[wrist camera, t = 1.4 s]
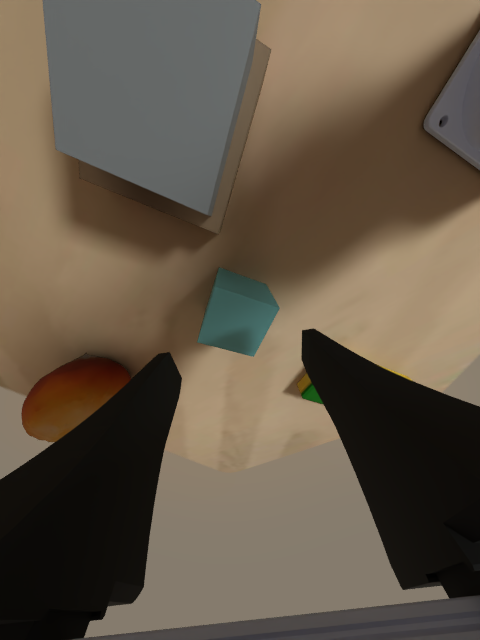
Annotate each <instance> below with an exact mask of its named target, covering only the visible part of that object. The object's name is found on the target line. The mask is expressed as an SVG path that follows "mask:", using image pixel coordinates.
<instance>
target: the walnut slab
mask: <svg viewBox="0 0 480 640" xmlns="http://www.w3.org/2000/svg"><path fill="white" fill-rule="evenodd" d="M270 53H271V49H270V48H269V47H267V46H266V45H264V44H263V43H261V42H260V41H259V40H257V39H256V41H255V48H254V54H253V61H252V65H251V69H250V73H249V77H248V80H247V84H246V88H245V92H244V96H243V99H242V103H241V107H240V111H239V114H238V118H237V122H236V126H235V130H234V133H233V137H232V141H231V145H230V148H229V152H228V156H227V160H226V163H225V167H224V171H223V175H222V179H221V182H220V186H219V190H218V194H217V197H216V201H215V205H214V209H213V213H212V216H209V215H206V214H204V213H201V212H199V211H197V210H194V209H192V208H190V207H187V206H185V205H183V204H180V203H178V202H176V201H173V200H171V199H169V198H167V197H164V196H162V195H160V194H157V193H155V192H153V191H150V190H148V189H146V188H143V187H141V186H139V185H137V184H134V183H132V182H130V181H127V180H125V179H123V178H120V177H118V176H116V175H113V174H111V173H109V172H107V171H104V170H102V169H100V168H97V167H95V166H93V165H90V164H88V163H86V162H83V161H81V160H79V175H80V179H83V180H85V181H88V182H90V183H93V184H95V185H98V186H100V187H103V188H105V189H108V190H110V191H113V192H115V193H117V194H120V195H122V196H125V197H127V198H130V199H132V200H135V201H137V202H140V203H142V204H145V205H147V206H150V207H152V208H154V209H157V210H159V211H162V212H164V213H167V214H169V215H172V216H174V217H177V218H179V219H182V220H184V221H187V222H189V223H192V224H194V225H196V226H199V227H201V228H204V229H206V230H209V231H211V232H214V233H216V234H219V233H220V230H221V227H222V224H223V220H224V217H225V213H226V210H227V206H228V203H229V199H230V196H231V192H232V189H233V185H234V182H235V178H236V175H237V172H238V168H239V165H240V161H241V158H242V154H243V151H244V147H245V144H246V140H247V137H248V133H249V130H250V126H251V123H252V120H253V116H254V113H255V109H256V106H257V102H258V99H259V95H260V92H261V88H262V85H263V81H264V77H265V73H266V69H267V65H268V61H269V57H270Z"/></svg>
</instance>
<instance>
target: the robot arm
mask: <svg viewBox="0 0 480 640" xmlns="http://www.w3.org/2000/svg"><path fill="white" fill-rule="evenodd" d="M440 119H441V120H442V122H441V125H440V127H439V122H440ZM424 129H425V130H426V131H427V132H428V133H430V134H431V135H433V136H434V137H435V138H437V139H438V140H439V141H441V142H442V143H443V144H445V145H446V146H447V147H449V148H450V149H451V150H453V151H454V152H455V153H457V154H458V155H460V156H461V157H462V158H464V159H465V160H466V161H468V162H469V163H470V164H472V165H473V166H474V167H476V168H477V169H478V170H480V30H479V32H478V34H477V35H476V37H475V38H474V40H473V42H472V43H471V45H470V46H469V48H468V50H467V51H466V53H465V55H464V56H463V58H462V59H461V61H460V63H459V64H458V66H457V67H456V69H455V71H454V72H453V74H452V76H451V77H450V79H449V80H448V82H447V84H446V85H445V87H444V88H443V90H442V92H441V93H440V95H439V96H438V98H437V100H436V101H435V103H434V105H433V106H432V108H431V109H430V111H429V113H428V114H427V116H426V118H425V120H424ZM302 362H303V364H304V367H305V369H306V372H307V374H308V377H309V378H310V380H311V382H312V384H313V386H314V388H315V390H316V391H317V393H318V395H319V397H320V399H321V400H322V402H323V404H324V406H325V408H326V410H327V411H328V413H329V415H330V417H331V419H332V421H333V423H334V425H335V427H336V429H337V431H338V434H339V436H340V438H341V440H342V443H343V445H344V447H345V449H346V452H347V454H348V456H349V459H350V461H351V463H352V466H353V468H354V471H355V473H356V475H357V478H358V481H359V483H360V486H361V488H362V491H363V493H364V495H365V498H366V501H367V503H368V506H369V508H370V511H371V513H372V516H373V519H374V521H375V524H376V527H377V529H378V532H379V534H380V537H381V540H382V542H383V545H384V548H385V551H386V553H387V556H388V559H389V562H390V564H391V567H392V569H393V571H394V573H395V575H396V577H397V579H398V582H399V583H400V586H401V587H402V589H403V590H406V589H415V588H423V587H432V586H443V588H444V590H445V591H446V593H447V595H448V597H449V598H450V599H441V600H431V601H422V602H413V603H404V604H395V605H385V606H376V607H367V608H357V609H348V610H340V611H331V612H321V613H311V614H302V615H293V616H283V617H274V618H266V619H256V620H247V621H238V622H228V623H219V624H209V625H200V626H191V627H182V628H173V629H163V630H154V631H146V632H135V633H126V634H117V635H108V636H99V637H89V638H84V636H85V633H86V630H87V627H88V624H89V622H90V621H93V620H102V619H103V617H104V616H105V613H106V610H107V607H108V606H114V605H123V604H131V603H133V602H134V601H135V600H136V598H137V597H138V595H139V594H140V592H141V591H142V589H143V587H144V579H145V569H146V561H147V552H148V544H149V535H150V529H151V522H152V515H153V508H154V502H155V495H156V490H157V484H158V477H159V473H160V468H161V462H162V457H163V452H164V448H165V444H166V440H167V437H168V434H169V430H170V427H171V423H172V420H173V416H174V413H175V409H176V406H177V402H178V399H179V394H180V389H181V381H182V377H181V375H180V373H179V371H178V369H177V367H176V365H175V363H174V360H173V358H172V356H171V354H170V352H167V353H161V354H158V355H157V356H156V357H154V358H153V359H152V360H151V361H150V362H149V363H148V364H147V365H146V366H145V367H144V368H143V369H142V370H141V371H140V372H139V373H137V374H136V375H135V376H134V377H133V378H132V379H131V380H130V381H129V382H128V383H127V384H126V385H125V386H124V387H123V388H122V389H120V390H119V391H118V392H117V393H116V394H115V395H114V396H113V397H111V398H110V399H109V400H108V401H107V402H106V403H105V404H104V405H102V406H101V407H100V408H99V409H98V410H96V411H95V412H94V413H93V414H92V415H90V416H89V417H88V418H87V419H85V420H84V421H83V422H82V423H80V424H79V425H78V426H76V427H75V428H74V429H72V430H71V431H70V432H68V433H67V434H66V435H64V436H63V437H62V438H60V439H59V440H57V441H56V442H55V443H53V444H52V445H50V446H49V447H48V448H46V449H45V450H44V451H42V452H41V453H39V454H38V455H37V456H35V457H34V458H32V459H31V460H29V461H28V462H26V463H25V464H24V465H22V466H20V467H19V468H17V469H16V470H14V471H13V472H11V473H10V474H8V475H7V476H5V477H4V478H2V479H1V480H0V640H480V407H479V406H476V405H473V404H471V403H468V402H465V401H462V400H459V399H457V398H454V397H451V396H448V395H446V394H443V393H441V392H438V391H436V390H433V389H431V388H428V387H426V386H423V385H421V384H418V383H416V382H413V381H411V380H409V379H406V378H404V377H402V376H400V375H398V374H395V373H393V372H391V371H389V370H387V369H385V368H382V367H380V366H378V365H376V364H374V363H373V362H371V361H369V360H367V359H365V358H363V357H361V356H359V355H357V354H356V353H354V352H352V351H350V350H349V349H347V348H345V347H343V346H342V345H340V344H338V343H337V342H335V341H334V340H332V339H330V338H329V337H327V336H325V335H324V334H322V333H321V332H319V331H317V330H315V329H308V330H302Z"/></svg>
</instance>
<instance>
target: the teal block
mask: <svg viewBox="0 0 480 640" xmlns="http://www.w3.org/2000/svg"><path fill="white" fill-rule="evenodd" d="M279 309H280V308H279V306H278V304H277V302H276V301H275V299H274V297H273V295H272V294H271V292H270V290H269V288H268V287H267V285H266V284H264V283H261V282H258V281H256V280H253V279H250V278H247V277H245V276H242V275H239V274H236V273H234V272H231V271H228V270H225V269H223V268H220V267H219V269H218V272H217V275H216V279H215V282H214V285H213V288H212V291H211V295H210V298H209V301H208V304H207V307H206V311H205V314H204V318H203V322H202V326H201V329H200V333H199V337H198V341H197V342H198V343H202V344H206V345H210V346H214V347H218V348H222V349H226V350H229V351H233V352H237V353H241V354H245V355H249V356H253V357H254V355H255V353H256V351H257V350H258V348H259V346H260V344H261V342H262V340H263V338H264V336H265V335H266V333H267V331H268V329H269V327H270V325H271V323H272V322H273V320H274V318H275V316H276V314H277V312H278V310H279Z"/></svg>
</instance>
